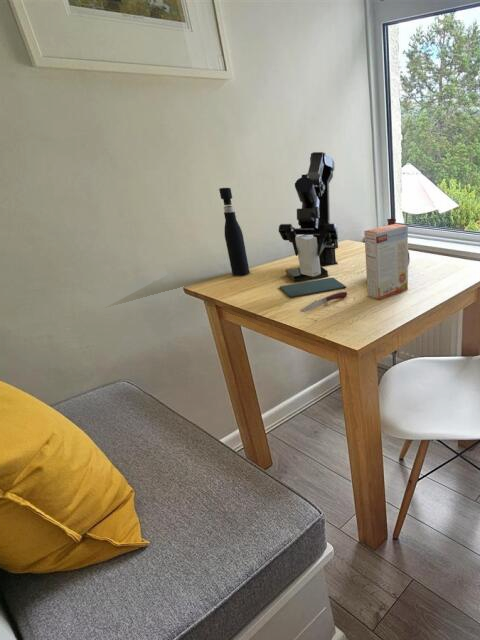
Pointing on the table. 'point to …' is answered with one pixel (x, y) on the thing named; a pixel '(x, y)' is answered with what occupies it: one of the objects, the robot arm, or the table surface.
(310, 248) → the cosmetic box
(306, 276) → the control block
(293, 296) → the mat
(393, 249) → the cracker box
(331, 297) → the knife
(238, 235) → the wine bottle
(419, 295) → the table surface
